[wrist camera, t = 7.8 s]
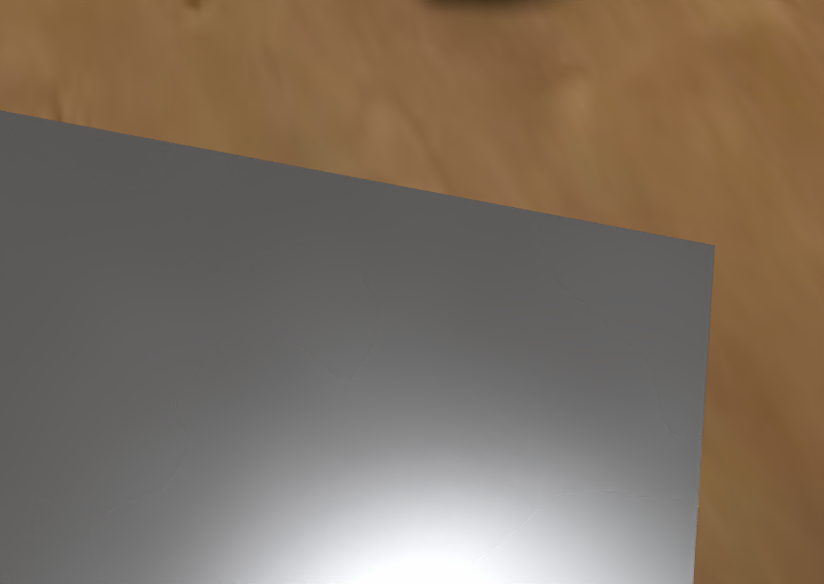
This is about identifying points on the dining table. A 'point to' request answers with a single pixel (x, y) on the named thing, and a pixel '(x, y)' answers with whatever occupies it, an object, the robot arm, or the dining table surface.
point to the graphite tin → (332, 377)
